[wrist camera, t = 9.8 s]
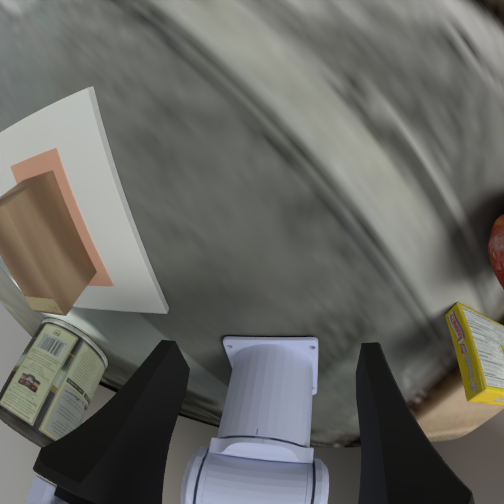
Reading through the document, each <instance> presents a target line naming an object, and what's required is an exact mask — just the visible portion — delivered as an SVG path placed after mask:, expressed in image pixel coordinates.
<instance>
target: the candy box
mask: <svg viewBox="0 0 504 504" xmlns="http://www.w3.org/2000/svg"><path fill="white" fill-rule="evenodd" d="M445 318H446V321H447V324H448V328H449V330H450V334H451V337H452V341H453V345H454V349H455V352H456V356H457V360H458V364H459V368H460V372H461V376H462V380H463V385H464V389H465V394H466V399H467V401H468V402H476V403H484V404H493V405H503V406H504V326H503V325H501V324H499V323H497V322H495V321H493V320H491V319H490V318H488V317H486V316H484V315H482V314H480V313H478V312H476V311H474V310H472V309H471V308H469V307H467V306H465V305H463V304H461V303H459V302H457V303H456V304H455V305H454V306H453V307H452V308H451V309H450V310H449V311H448V312H447V313H446V315H445Z"/></svg>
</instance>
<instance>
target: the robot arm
mask: <svg viewBox="0 0 504 504" xmlns="http://www.w3.org/2000/svg"><path fill="white" fill-rule="evenodd" d="M223 345H224V347H225V350H226V353H227V356H228V359H229V361H230V364H231V367H232V374H231V378H230V383H229V387H228V392H227V396H226V400H225V405H224V409H223V414H222V418H221V423H220V427H219V432H218V436H217V438H212V439H211V442H210V447H204V446H203V447H201V448H200V449H199V450H197V451H196V452H194V453H193V454H192V456H191V457H190V459H189V461H188V464H187V466H186V469H185V473H184V476H183V481H182V487H181V504H327V501H328V492H329V476H328V470H327V467H326V466H325V465H324V464H323V463H322V461H321V460H320V459H313V450H314V449H313V448H309V445H310V429H311V412H312V395H314V394H316V393H317V375H318V339H317V338H315V337H231V336H227V337H224V339H223ZM189 371H190V368H189V367H188V365H187V363H186V361H185V359H184V357H183V355H182V353H181V351H180V350H179V348H178V346H177V344H176V342H175V341H169V340H161V342H160V343H159V344H158V345H157V346H156V348H155V349H154V350H153V351H152V352H151V354H150V355H149V356H148V357H147V359H146V360H145V361H144V362H143V363H142V365H141V366H140V367H139V368H138V369H137V371H136V372H135V373H134V374H133V375H132V377H131V378H130V379H129V380H128V381H127V382H126V383H125V385H124V386H123V387H122V388H121V389H120V390H119V391H118V392H117V393H116V394H115V396H113V397H112V398H111V399H110V400H109V401H108V402H107V403H106V404H105V405H104V406H103V407H102V408H101V409H100V410H99V411H97V412H96V413H95V414H94V415H93V416H91V417H90V418H89V419H88V420H86V421H85V422H84V423H83V424H81V425H80V426H79V427H77V428H76V429H74V430H73V431H71V432H70V433H68V434H67V435H65V436H63V437H62V438H60V439H58V440H56V441H54V442H52V443H51V444H49V445H47V446H45V447H43V448H41V450H40V453H39V455H38V457H37V460H36V462H35V465H34V467H33V470H34V471H35V472H36V473H38V474H39V475H41V476H43V477H44V478H46V479H48V480H49V481H51V482H53V483H54V484H56V485H57V486H56V485H54V484H52V483H50V482H48V481H46V480H45V479H43V478H41V477H39V476H37V475H35V477H34V480H33V483H32V485H31V488H30V491H29V494H28V496H27V499H26V502H25V504H162V491H163V481H164V473H165V466H166V460H167V454H168V449H169V444H170V440H171V436H172V433H173V430H174V426H175V423H176V420H177V417H178V414H179V411H180V408H181V405H182V402H183V399H184V395H185V392H186V388H187V383H188V377H189ZM356 399H357V408H358V417H359V427H360V438H361V455H362V459H361V478H360V492H359V503H358V504H475V503H474V499H473V494H472V492H471V490H470V489H469V488H468V487H467V486H465V484H464V483H463V482H462V481H461V480H460V479H459V478H458V477H457V476H456V475H455V473H454V472H453V471H452V470H451V469H450V468H449V466H448V465H447V464H446V463H445V461H444V460H443V459H442V457H441V456H440V455H439V453H438V452H437V451H436V450H435V448H434V447H433V446H432V444H431V443H430V441H429V440H428V438H427V437H426V435H425V434H424V432H423V431H422V429H421V428H420V426H419V424H418V423H417V421H416V419H415V418H414V416H413V414H412V412H411V411H410V409H409V407H408V405H407V403H406V401H405V399H404V398H403V396H402V394H401V392H400V390H399V388H398V386H397V384H396V381H395V379H394V377H393V375H392V373H391V370H390V368H389V366H388V364H387V361H386V359H385V356H384V354H383V351H382V348H381V345H380V344H379V343H378V342H375V343H362V345H361V350H360V355H359V360H358V365H357V370H356Z"/></svg>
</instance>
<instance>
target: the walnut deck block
mask: <svg viewBox="0 0 504 504" xmlns="http://www.w3.org/2000/svg"><path fill="white" fill-rule="evenodd" d="M0 255H1V257H2V259H3V261H4V263H5V264H6V266H7V268H8V270H9V271H10V273H11V275H12V276H13V278H14V280H15V281H16V283H17V285H18V286H19V288H20V289H21V291H22V293H23V294H24V298H25V299H26V301H27V302H28V304H29V305H30V307H31V308H32V309H33V310H34V311H36V312H43V313H50V314H57V315H64V316H66V315H67V314H68V312H69V311H70V309H71V308H72V306H73V305H74V303H75V302H76V300H77V299H78V298H79V296H80V295H81V293H82V292H83V290H84V289H85V288H86V286H87V285H88V283H89V282H90V281H91V279H92V278H93V277H94V275H95V274H96V272H97V271H96V269H95V267H94V265H93V263H92V261H91V259H90V257H89V255H88V253H87V251H86V249H85V246H84V244H83V242H82V240H81V238H80V236H79V233H78V231H77V229H76V227H75V224H74V222H73V220H72V217H71V215H70V213H69V210H68V208H67V205H66V203H65V200H64V198H63V195H62V193H61V190H60V188H59V185H58V182H57V180H56V177H55V174H54V171H53V170H52V171H49V172H46V173H43V174H40V175H37V176H34V177H31V178H28V179H25V180H23V181H21V182H20V183H18V184H17V185H16V186H14V187H13V188H11V189H10V190H9V191H7V192H6V193H5V194H3V195H2V196H1V197H0Z"/></svg>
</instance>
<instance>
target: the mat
mask: <svg viewBox="0 0 504 504" xmlns="http://www.w3.org/2000/svg"><path fill="white" fill-rule="evenodd" d="M52 170H53V171H54V174H55V177H56V180H57V182H58V185H59V188H60V190H61V193H62V195H63V198H64V200H65V203H66V205H67V208H68V210H69V213H70V215H71V217H72V220H73V222H74V224H75V227H76V229H77V231H78V233H79V236H80V238H81V240H82V242H83V244H84V246H85V249H86V251H87V253H88V255H89V257H90V259H91V261H92V263H93V265H94V267H95V269H96V271H97V272H96V274H95V275H94V277H93V278H92V279H91V281H90V282H89V283H88V285H87V286H86V288H85V289H84V290H83V292H82V293H81V295H80V296H79V298H78V299H77V300H76V302H75V303H74V305H73V306H72V307H79V308H89V309H101V310H114V311H128V312H144V313H162V314H167V313H168V311H169V306H168V304H167V302H166V300H165V297H164V295H163V293H162V290H161V288H160V286H159V283H158V281H157V279H156V276H155V274H154V271H153V269H152V266H151V264H150V261H149V259H148V256H147V254H146V251H145V249H144V246H143V244H142V241H141V238H140V236H139V233H138V231H137V228H136V225H135V222H134V220H133V217H132V214H131V211H130V209H129V206H128V203H127V200H126V197H125V194H124V191H123V188H122V185H121V182H120V179H119V176H118V173H117V170H116V167H115V163H114V160H113V157H112V154H111V150H110V147H109V144H108V140H107V137H106V133H105V130H104V126H103V122H102V119H101V115H100V111H99V107H98V103H97V99H96V95H95V91H94V87H89V88H86V89H84V90H82V91H79V92H77V93H75V94H72V95H70V96H68V97H66V98H64V99H62V100H59V101H57V102H55V103H53V104H51V105H49V106H47V107H45V108H43V109H41V110H39V111H37V112H36V113H34V114H32V115H30V116H28V117H26V118H24V119H23V120H21V121H19V122H17V123H16V124H14V125H12V126H11V127H9V128H7V129H6V130H4V131H2V132H1V133H0V197H1V196H2V195H3V194H5V193H6V192H7V191H9V190H10V189H11V188H13V187H14V186H16V185H17V184H18V183H20V182H21V181H23V180H25V179H28V178H31V177H34V176H37V175H40V174H43V173H46V172H49V171H52Z"/></svg>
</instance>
